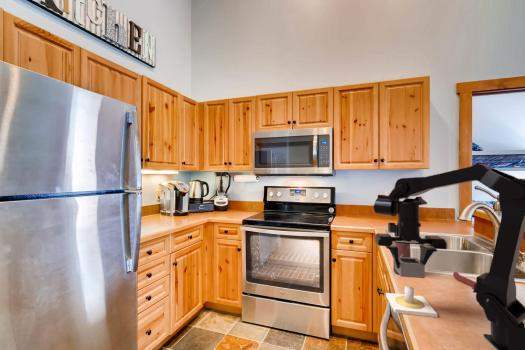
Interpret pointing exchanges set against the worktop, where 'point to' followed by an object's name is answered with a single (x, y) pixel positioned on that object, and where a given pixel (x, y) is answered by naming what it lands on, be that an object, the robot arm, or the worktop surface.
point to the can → (402, 252)
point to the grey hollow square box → (410, 268)
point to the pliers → (464, 280)
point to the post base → (411, 311)
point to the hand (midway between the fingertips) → (409, 268)
